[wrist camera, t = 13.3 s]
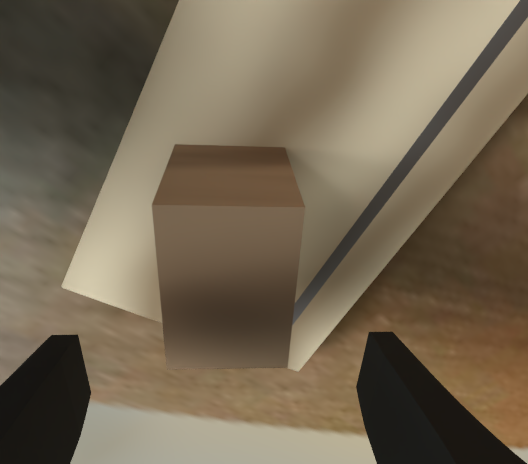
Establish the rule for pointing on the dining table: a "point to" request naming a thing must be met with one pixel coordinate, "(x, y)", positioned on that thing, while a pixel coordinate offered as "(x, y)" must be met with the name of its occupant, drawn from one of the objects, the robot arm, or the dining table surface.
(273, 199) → the block
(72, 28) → the dining table surface
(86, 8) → the dining table surface
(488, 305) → the dining table surface
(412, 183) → the pine board
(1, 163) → the dining table surface
